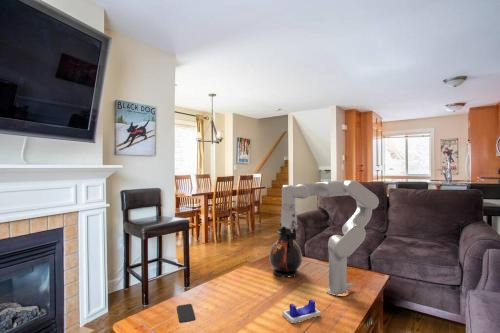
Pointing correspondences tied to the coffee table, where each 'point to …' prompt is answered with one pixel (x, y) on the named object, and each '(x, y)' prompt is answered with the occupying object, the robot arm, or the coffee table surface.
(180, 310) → the phone
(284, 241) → the amphora vase
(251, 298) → the coffee table surface
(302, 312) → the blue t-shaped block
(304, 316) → the tray
